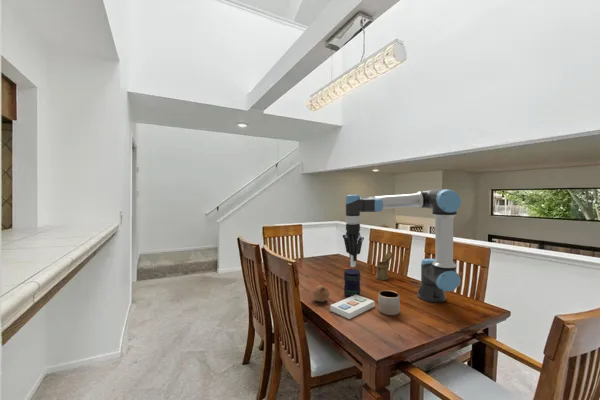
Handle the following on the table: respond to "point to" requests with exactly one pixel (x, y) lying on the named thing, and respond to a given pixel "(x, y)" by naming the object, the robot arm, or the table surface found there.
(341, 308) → the button one dot
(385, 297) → the planter
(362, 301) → the button two dots
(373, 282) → the table surface
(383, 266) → the wooden mug
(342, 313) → the button panel
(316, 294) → the onion
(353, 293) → the navy blue cylinder
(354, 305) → the button three dots
